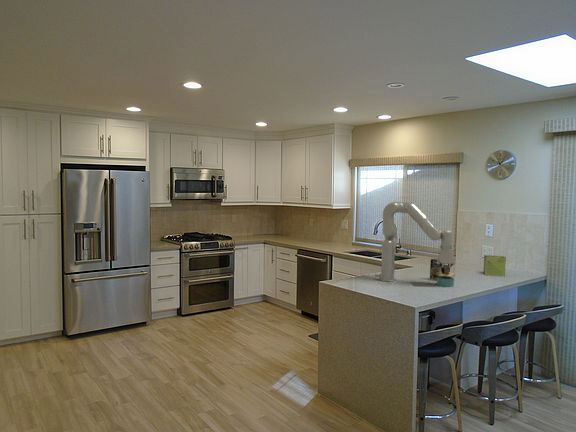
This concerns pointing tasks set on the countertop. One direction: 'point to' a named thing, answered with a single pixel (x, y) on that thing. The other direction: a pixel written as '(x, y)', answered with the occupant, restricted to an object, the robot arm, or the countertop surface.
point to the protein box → (494, 265)
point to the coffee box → (434, 269)
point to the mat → (422, 284)
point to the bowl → (445, 281)
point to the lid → (445, 272)
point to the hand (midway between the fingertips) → (445, 272)
